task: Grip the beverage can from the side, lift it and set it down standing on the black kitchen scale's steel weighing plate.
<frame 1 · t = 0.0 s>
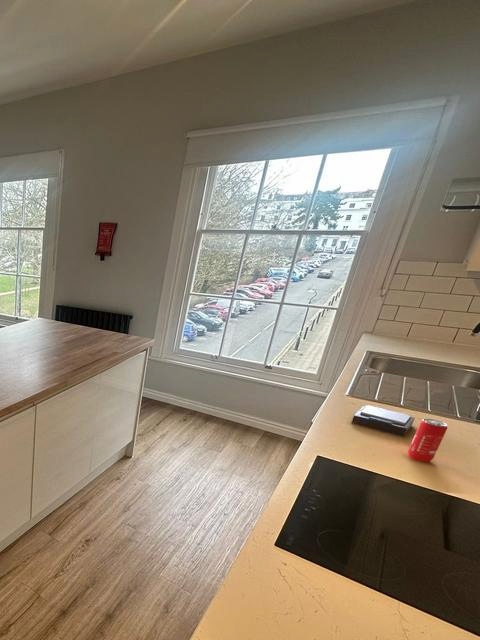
beverage can: (418, 458, 119), on the worktop
scale: (381, 424, 139), on the worktop
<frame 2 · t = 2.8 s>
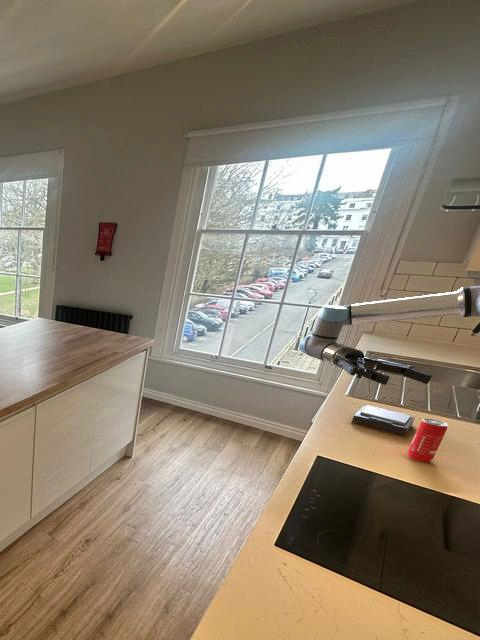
hand: (408, 380, 121), 21 cm above the worktop, tool horizontal, fingers open, 13 cm apart
nothing on the worktop moved.
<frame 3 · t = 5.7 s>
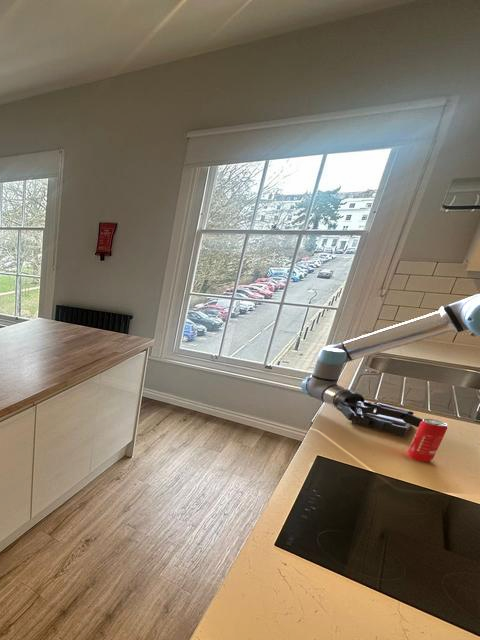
hand: (405, 427, 122), 7 cm above the worktop, tool horizontal, fingers open, 13 cm apart
nothing on the worktop moved.
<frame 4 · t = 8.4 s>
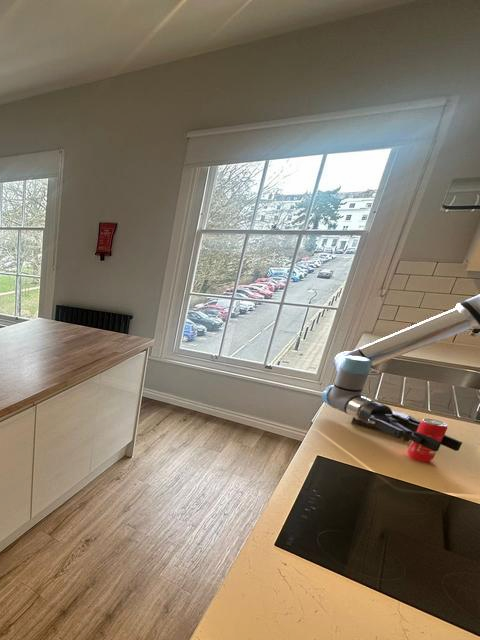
hand: (448, 446, 111), 7 cm above the worktop, tool horizontal, fingers closed on beverage can, 5 cm apart
beverage can: (418, 458, 119), on the worktop, touching gripper
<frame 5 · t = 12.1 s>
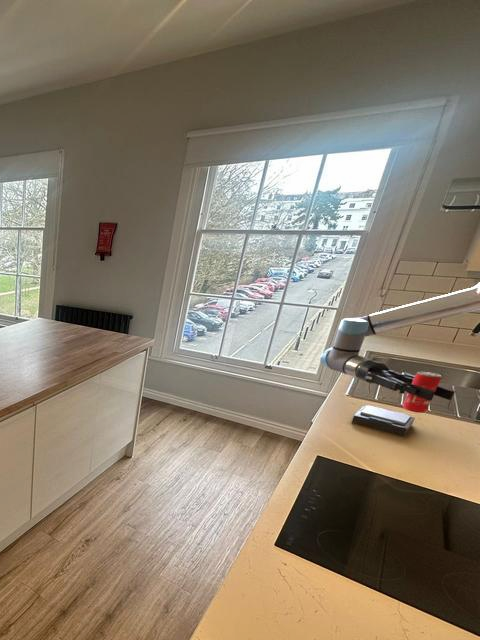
hand: (441, 395, 117), 18 cm above the worktop, tool horizontal, fingers closed on beverage can, 5 cm apart
beverage can: (413, 410, 124), point 11 cm above the worktop, touching gripper
when the fingers open (11 cm above the worktop, at t = 16.1 s): beverage can stays where it is, resting on scale.
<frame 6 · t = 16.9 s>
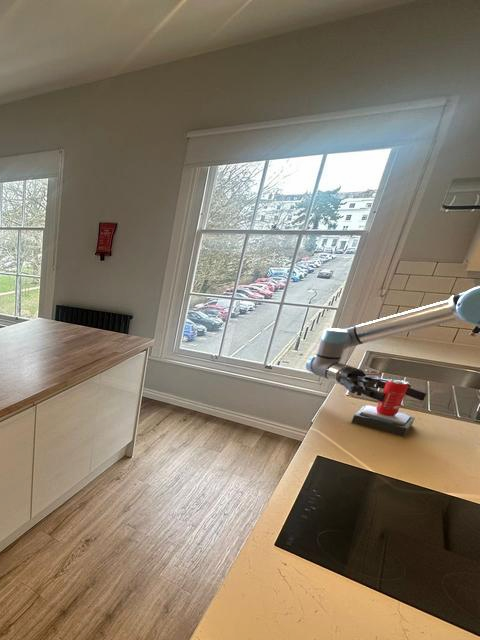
hand: (403, 397, 132), 11 cm above the worktop, tool horizontal, fingers open, 13 cm apart
beverage can: (385, 414, 138), point 4 cm above the worktop, touching scale
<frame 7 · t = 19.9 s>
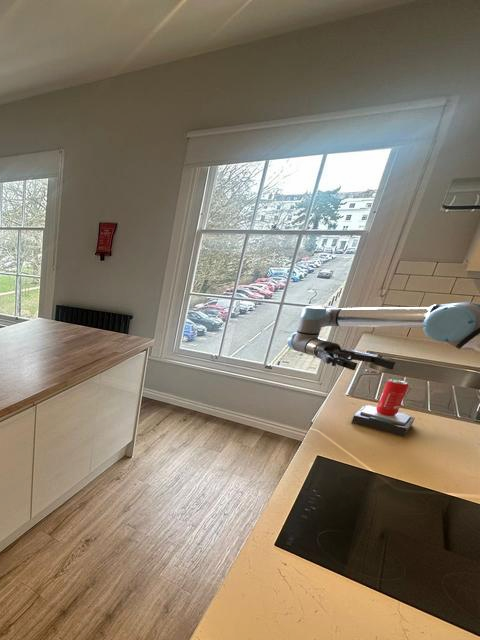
hand: (374, 366, 142), 18 cm above the worktop, tool horizontal, fingers open, 13 cm apart
nothing on the worktop moved.
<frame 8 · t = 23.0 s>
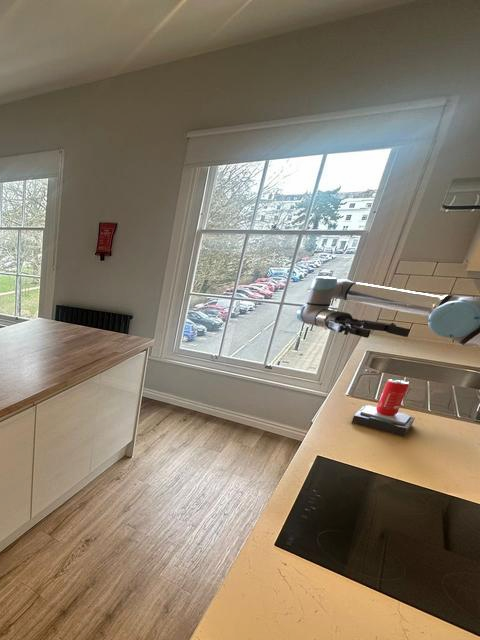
hand: (388, 333, 137), 30 cm above the worktop, tool horizontal, fingers open, 13 cm apart
nothing on the worktop moved.
at the end: beverage can inside the target area on the scale (0.1 cm from its centre), point 3.6 cm above the scale's base; beverage can tilted 0°; the gripper is holding nothing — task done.
